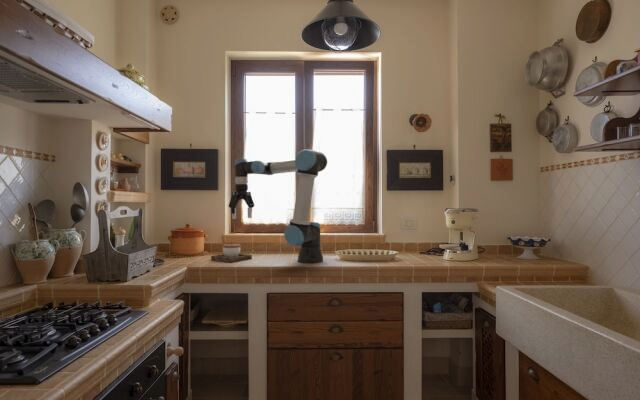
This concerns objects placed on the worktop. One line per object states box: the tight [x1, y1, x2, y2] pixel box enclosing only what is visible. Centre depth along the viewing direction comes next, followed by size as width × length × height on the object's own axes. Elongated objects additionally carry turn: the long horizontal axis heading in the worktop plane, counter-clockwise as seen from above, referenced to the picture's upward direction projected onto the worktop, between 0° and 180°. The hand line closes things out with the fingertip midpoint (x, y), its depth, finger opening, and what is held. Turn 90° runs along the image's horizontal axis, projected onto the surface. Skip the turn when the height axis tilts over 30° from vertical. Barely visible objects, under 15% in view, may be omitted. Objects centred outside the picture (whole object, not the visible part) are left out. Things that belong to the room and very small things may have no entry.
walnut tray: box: [210, 253, 253, 264], centre depth 237 cm, size 17×17×2 cm
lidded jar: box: [222, 241, 242, 258], centre depth 237 cm, size 11×11×9 cm
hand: (242, 218), depth 241 cm, fingers open, 13 cm apart
